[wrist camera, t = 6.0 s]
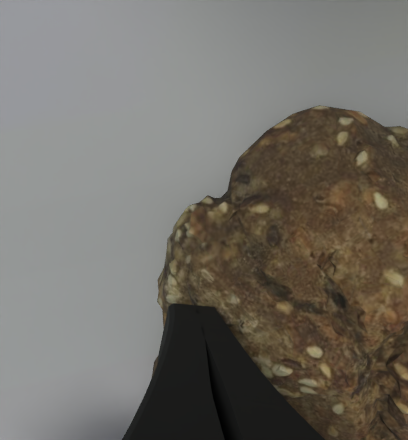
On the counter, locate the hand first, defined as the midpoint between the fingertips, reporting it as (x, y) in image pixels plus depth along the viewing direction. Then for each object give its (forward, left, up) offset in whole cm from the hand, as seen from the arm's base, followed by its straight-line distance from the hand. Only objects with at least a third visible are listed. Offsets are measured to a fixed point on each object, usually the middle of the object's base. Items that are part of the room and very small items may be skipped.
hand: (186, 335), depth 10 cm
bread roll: (0, -5, -3) cm, 6 cm away
